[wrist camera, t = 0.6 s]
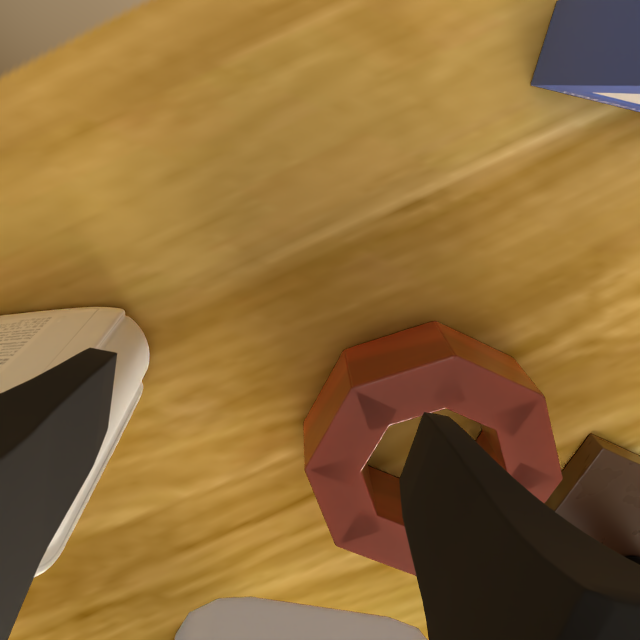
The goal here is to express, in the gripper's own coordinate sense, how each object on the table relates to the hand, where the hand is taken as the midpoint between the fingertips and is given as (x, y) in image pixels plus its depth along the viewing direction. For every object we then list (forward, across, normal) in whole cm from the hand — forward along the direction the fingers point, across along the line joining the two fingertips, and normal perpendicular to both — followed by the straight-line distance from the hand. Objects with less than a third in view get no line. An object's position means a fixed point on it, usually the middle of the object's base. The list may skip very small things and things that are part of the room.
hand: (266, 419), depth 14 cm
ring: (+10, -7, +6) cm, 14 cm away
